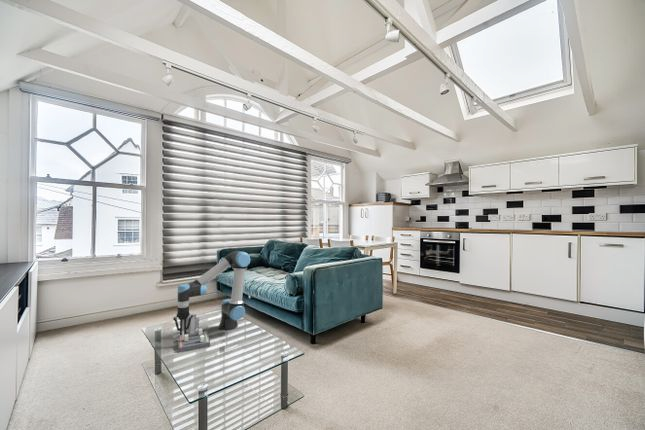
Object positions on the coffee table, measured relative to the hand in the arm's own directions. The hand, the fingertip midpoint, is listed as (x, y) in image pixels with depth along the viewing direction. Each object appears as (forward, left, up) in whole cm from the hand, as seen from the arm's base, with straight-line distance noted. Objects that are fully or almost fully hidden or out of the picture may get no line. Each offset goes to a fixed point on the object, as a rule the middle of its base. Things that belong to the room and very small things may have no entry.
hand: (182, 339), depth 200 cm
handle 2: (-12, +7, -1) cm, 14 cm away
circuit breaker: (-6, -20, -5) cm, 21 cm away
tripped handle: (-2, 0, -1) cm, 2 cm away
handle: (-12, -7, -1) cm, 14 cm away
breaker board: (-7, 0, -4) cm, 8 cm away
